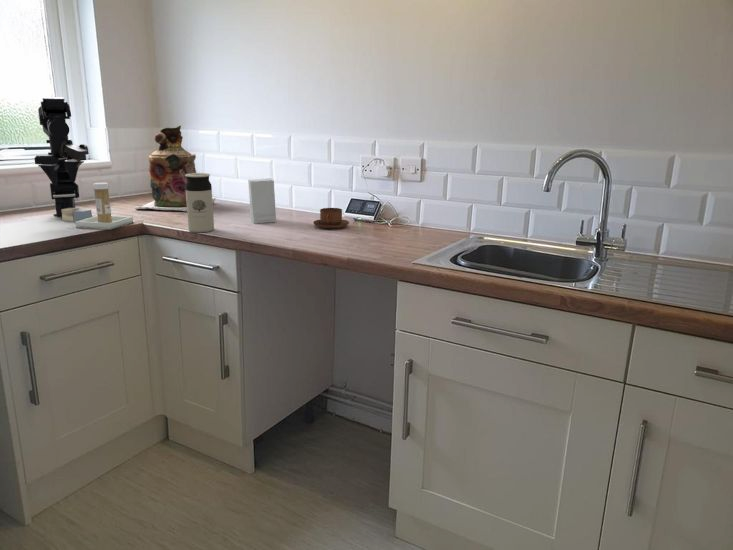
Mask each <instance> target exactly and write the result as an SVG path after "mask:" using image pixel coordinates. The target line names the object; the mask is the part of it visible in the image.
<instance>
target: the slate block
mask: <svg viewBox="0 0 733 550" xmlns="http://www.w3.org/2000/svg"><path fill="white" fill-rule="evenodd" d="M73 214H74V221H73V222H74V223H75V222H76V221H80V220H84V219H87V218H91V217H93V215H92V209H86V208H85V209H80V208H79V210H76V211H73Z"/></svg>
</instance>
